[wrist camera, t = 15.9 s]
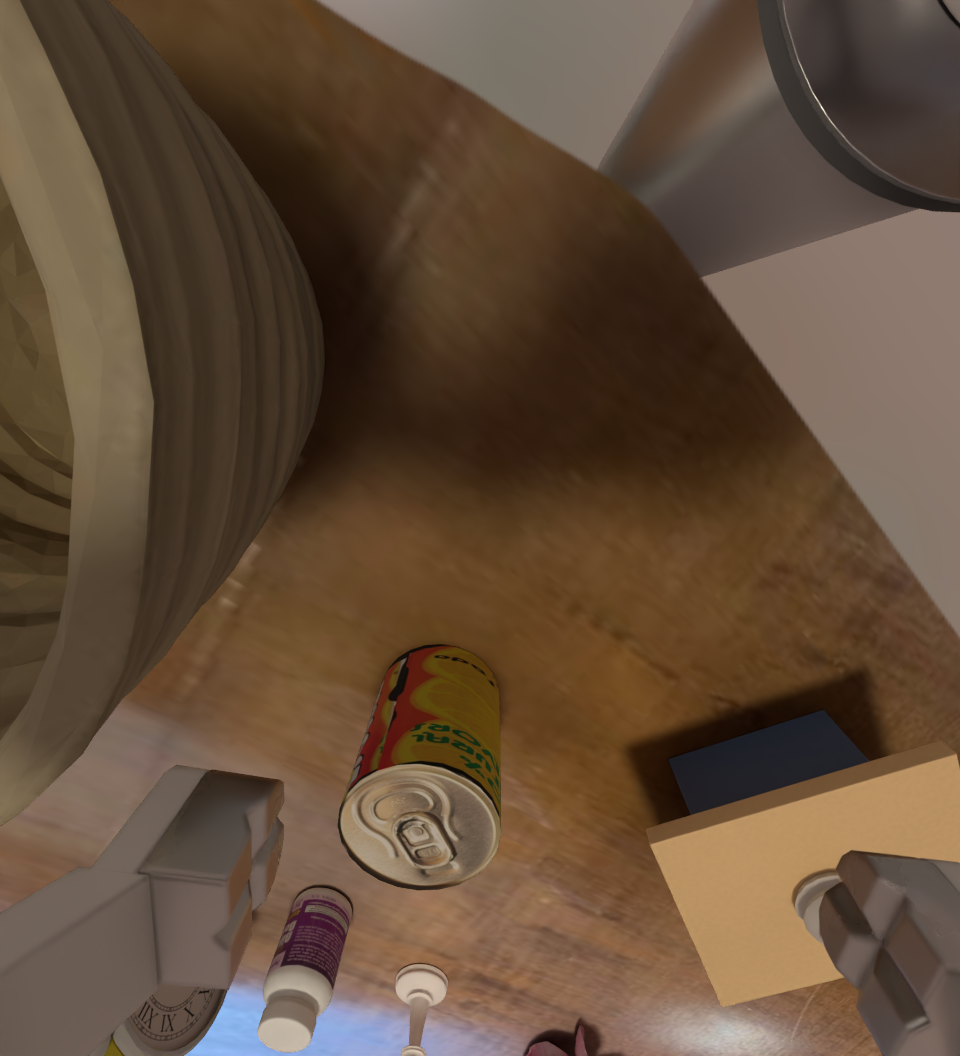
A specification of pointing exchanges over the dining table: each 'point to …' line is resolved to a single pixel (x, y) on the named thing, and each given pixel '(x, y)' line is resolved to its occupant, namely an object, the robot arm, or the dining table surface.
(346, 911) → the pill bottle
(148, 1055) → the alarm clock
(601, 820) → the dining table surface
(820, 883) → the rook chess piece
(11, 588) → the vase
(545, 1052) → the flower
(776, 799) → the board box
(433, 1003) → the chess piece
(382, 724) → the beverage can
